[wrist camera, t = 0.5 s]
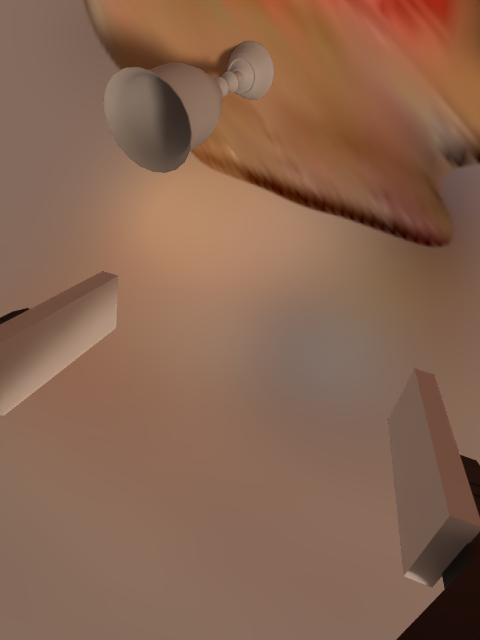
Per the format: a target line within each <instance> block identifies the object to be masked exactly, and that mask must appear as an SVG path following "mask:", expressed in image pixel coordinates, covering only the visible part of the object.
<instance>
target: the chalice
mask: <svg viewBox="0 0 480 640" xmlns="http://www.w3.org/2000/svg"><path fill="white" fill-rule="evenodd" d="M273 77H274V66H273V63H272V59H271V56H270V55H269V53H268V52H267V50H266V49H265V48H264V47H263V46H262V45H260V44H259V43H256V42H253V41H246V42H243V43H241V44H239V45H238V46H237V47H236V48H235V49H234V50H233V52H232V54H231V56H230V59H229V62H228V65H227V72H225V73H224V74H223V75H222V77H216V78H215V79H214V78H212V77H211V76H210V75H208V74H207V73H206V72H204V71H203V70H202V69H199V68H196V67H193V66H190V65H187V64H184V63H181V62H169V63H166V64H163V65H160V66H157V67H154V68H151V69H149V70H146V69H143V68H140V67H127V68H124V69H122V70H120V71H118V72H117V73H115V74H114V75H113V76H112V78H111V79H110V81H109V82H108V84H107V87H106V91H105V95H104V109H105V117H106V120H107V123H108V126H109V129H110V132H111V134H112V135H113V137H114V139H115V141H116V142H117V144H118V146H119V147H120V148H121V149H122V150H123V152H124V153H125V154H126V155H127V156H128V157H129V158H130V159H131V160H133V161H134V162H135V163H137V164H138V165H139V166H141V167H143V168H145V169H148V170H150V171H153V172H163V173H166V172H169V171H173V170H176V169H177V168H178V167H179V166H180V165H182V164H183V163H184V162H185V160H186V158H187V156H188V154H189V152H190V151H191V150H192V149H194V148H195V147H197V146H198V145H200V144H201V143H203V142H204V141H205V140H206V139H208V138H209V137H210V136H211V135H212V133H213V131H214V129H215V127H216V125H217V122H218V119H219V117H220V113H221V106H222V97H224V96H225V95H226V94H227V93H233V92H235V93H236V94H237V95H239V96H242V97H243V98H246V99H249V100H256V99H259V98H261V97H263V96H264V95H265V94H266V93H267V92H268V91H269V89H270V87H271V85H272V82H273Z"/></svg>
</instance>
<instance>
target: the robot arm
mask: <svg viewBox="0 0 480 640" xmlns="http://www.w3.org/2000/svg"><path fill="white" fill-rule="evenodd" d="M117 287H118V276H117V275H114V274H110V273H107V272H104V271H102V272H100V273H98V274H96V275H95V276H93V277H91V278H89V279H87V280H85V281H83V282H81V283H79V284H77V285H76V286H73V287H72V288H70V289H68V290H66V291H64V292H62V293H60V294H58V295H56V296H54V297H52V298H50V299H49V300H47V301H45V302H43V303H41V304H39V305H37V306H35V307H33V308H31V309H28V308H26V309H22V310H18V311H14V312H11V313H9V314H7V315H5V316H3V317H1V318H0V415H2V416H4V415H5V414H6V413H8V412H9V411H10V410H12V409H13V408H14V407H15V406H17V405H18V404H19V403H21V402H22V401H23V400H24V399H25V398H27V397H28V396H29V395H31V394H32V393H33V392H34V391H36V390H37V389H38V388H40V387H41V386H42V385H43V384H45V383H46V382H47V381H49V380H50V379H51V378H53V377H54V376H55V375H56V374H58V373H59V372H60V371H61V370H63V369H64V368H65V367H66V366H68V365H69V364H70V363H72V362H73V361H74V360H76V359H77V358H78V357H79V356H81V355H82V354H83V353H84V352H86V351H87V350H88V349H90V348H91V347H92V346H93V345H95V344H96V343H97V342H99V341H100V340H101V339H102V338H104V337H105V336H106V335H107V334H109V333H110V332H111V331H113V330H114V329H115V328H116V316H117ZM388 424H389V435H390V445H391V455H392V464H393V474H394V484H395V494H396V504H397V513H398V524H399V533H400V543H401V552H402V563H403V573H404V576H405V577H407V578H410V579H413V580H415V581H417V582H420V583H422V584H425V585H427V586H430V587H433V586H434V585H435V584H436V582H437V581H438V580H439V579H440V578H441V577H443V582H444V588H445V590H444V591H443V592H442V593H441V594H440V595H439V596H438V597H437V598H436V599H435V600H434V601H433V602H432V603H431V604H430V605H429V606H428V608H426V609H425V611H424V612H423V613H422V614H421V615H420V616H419V617H418V618H417V619H416V620H415V621H414V622H413V623H412V624H411V625H410V626H409V627H408V628H407V629H406V630H405V631H404V633H402V634H401V636H399V638H398V639H397V640H480V465H479V464H478V462H477V461H476V460H473V459H471V458H468V457H464V456H462V455H460V454H459V451H458V448H457V445H456V441H455V438H454V435H453V432H452V429H451V426H450V422H449V419H448V416H447V413H446V410H445V407H444V403H443V400H442V397H441V394H440V391H439V388H438V384H437V381H436V378H435V375H434V374H431V373H428V372H425V371H421V370H418V369H414V370H413V372H412V374H411V376H410V378H409V380H408V382H407V384H406V386H405V388H404V389H403V392H402V393H401V395H400V397H399V399H398V401H397V403H396V405H395V407H394V409H393V411H392V413H391V414H390V416H389V418H388Z"/></svg>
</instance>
